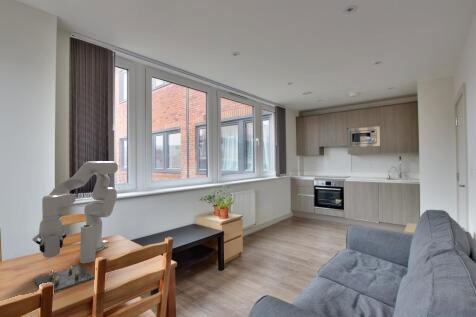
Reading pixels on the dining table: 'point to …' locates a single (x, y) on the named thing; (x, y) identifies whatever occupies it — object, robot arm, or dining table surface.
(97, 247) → the robot arm
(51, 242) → the can
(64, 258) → the dining table surface
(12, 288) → the dining table surface
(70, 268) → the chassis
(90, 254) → the paper towel roll
